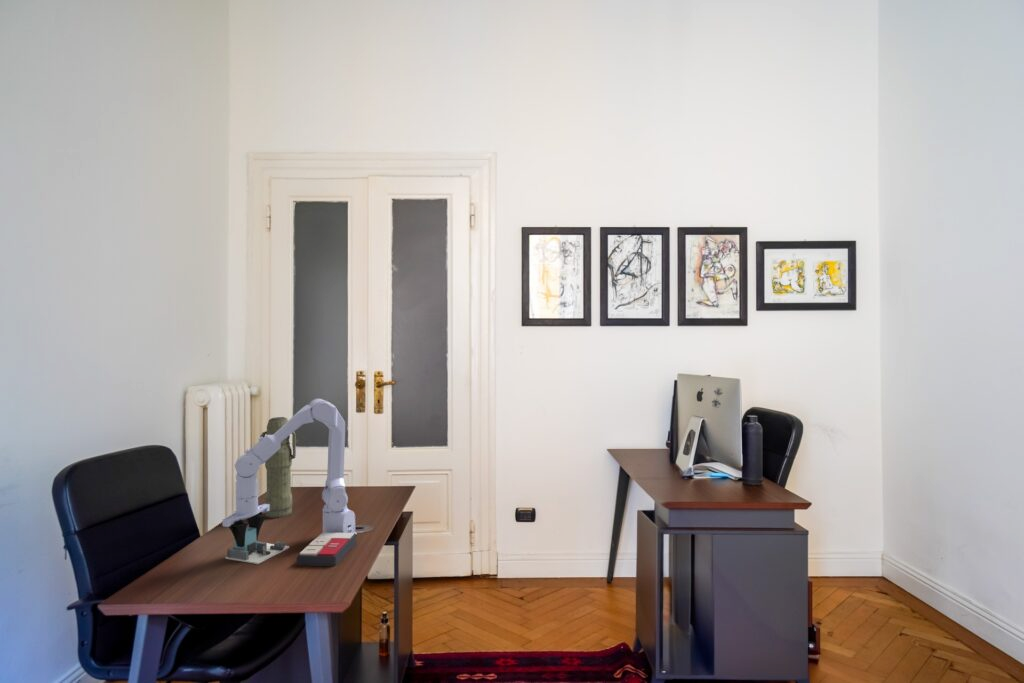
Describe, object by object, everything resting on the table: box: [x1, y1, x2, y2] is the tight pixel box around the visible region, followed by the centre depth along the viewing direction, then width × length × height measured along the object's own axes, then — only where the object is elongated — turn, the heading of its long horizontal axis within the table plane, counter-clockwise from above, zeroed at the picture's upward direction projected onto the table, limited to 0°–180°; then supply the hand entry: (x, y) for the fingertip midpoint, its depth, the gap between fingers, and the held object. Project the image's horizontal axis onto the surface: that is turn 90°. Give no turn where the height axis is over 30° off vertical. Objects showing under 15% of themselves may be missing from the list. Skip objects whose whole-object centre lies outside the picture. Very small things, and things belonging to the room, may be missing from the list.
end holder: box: [226, 540, 268, 560], centre depth 141 cm, size 7×7×3 cm
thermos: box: [259, 416, 297, 519], centre depth 177 cm, size 9×12×35 cm
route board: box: [225, 540, 291, 565], centre depth 143 cm, size 12×12×2 cm
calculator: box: [296, 532, 357, 567], centre depth 141 cm, size 11×4×15 cm
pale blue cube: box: [233, 526, 258, 552], centre depth 142 cm, size 5×4×6 cm
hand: (247, 543), depth 141 cm, fingers closed on pale blue cube, 4 cm apart
